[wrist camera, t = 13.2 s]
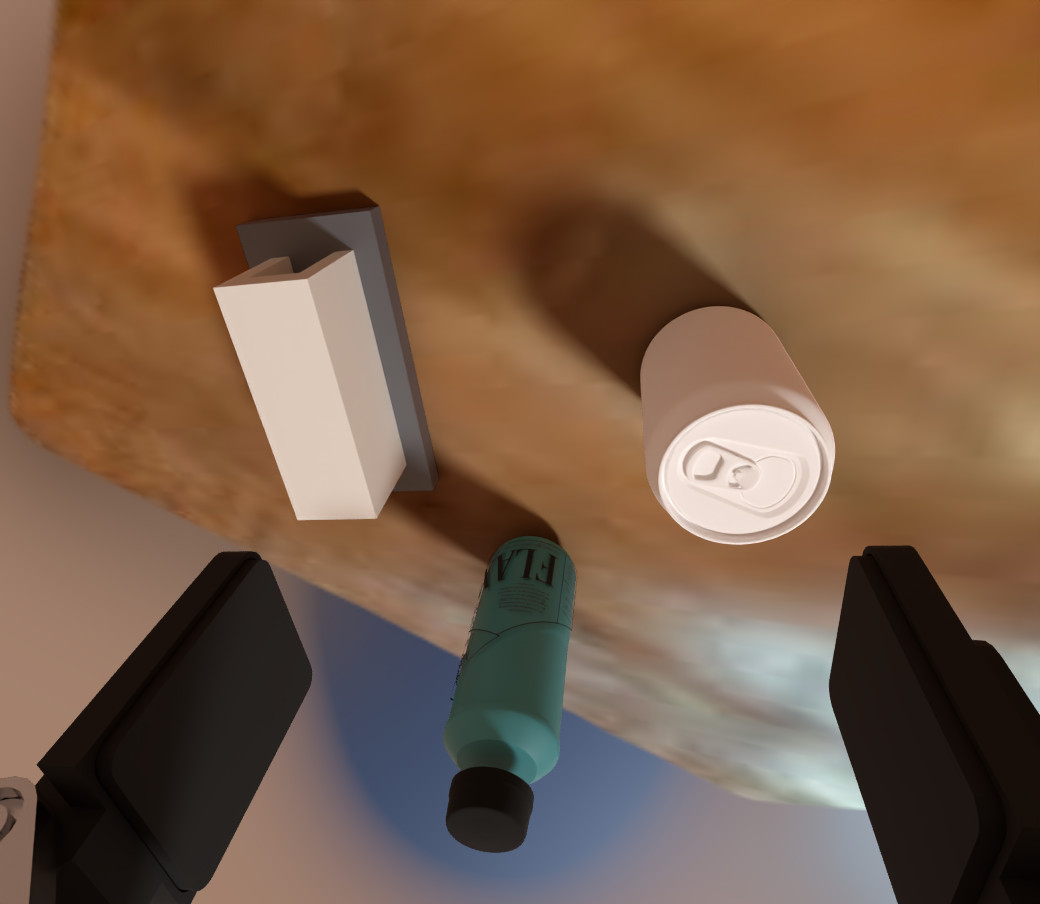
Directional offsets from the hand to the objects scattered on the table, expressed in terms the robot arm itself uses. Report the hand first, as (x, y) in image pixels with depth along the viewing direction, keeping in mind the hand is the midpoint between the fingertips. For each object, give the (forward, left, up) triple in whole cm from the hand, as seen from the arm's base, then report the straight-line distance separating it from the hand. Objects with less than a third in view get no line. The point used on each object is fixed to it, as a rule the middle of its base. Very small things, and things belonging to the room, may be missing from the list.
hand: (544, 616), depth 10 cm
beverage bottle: (+22, -6, -28) cm, 36 cm away
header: (+6, -16, -28) cm, 33 cm away
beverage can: (+8, +6, -28) cm, 30 cm away
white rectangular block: (+6, -16, -27) cm, 32 cm away
